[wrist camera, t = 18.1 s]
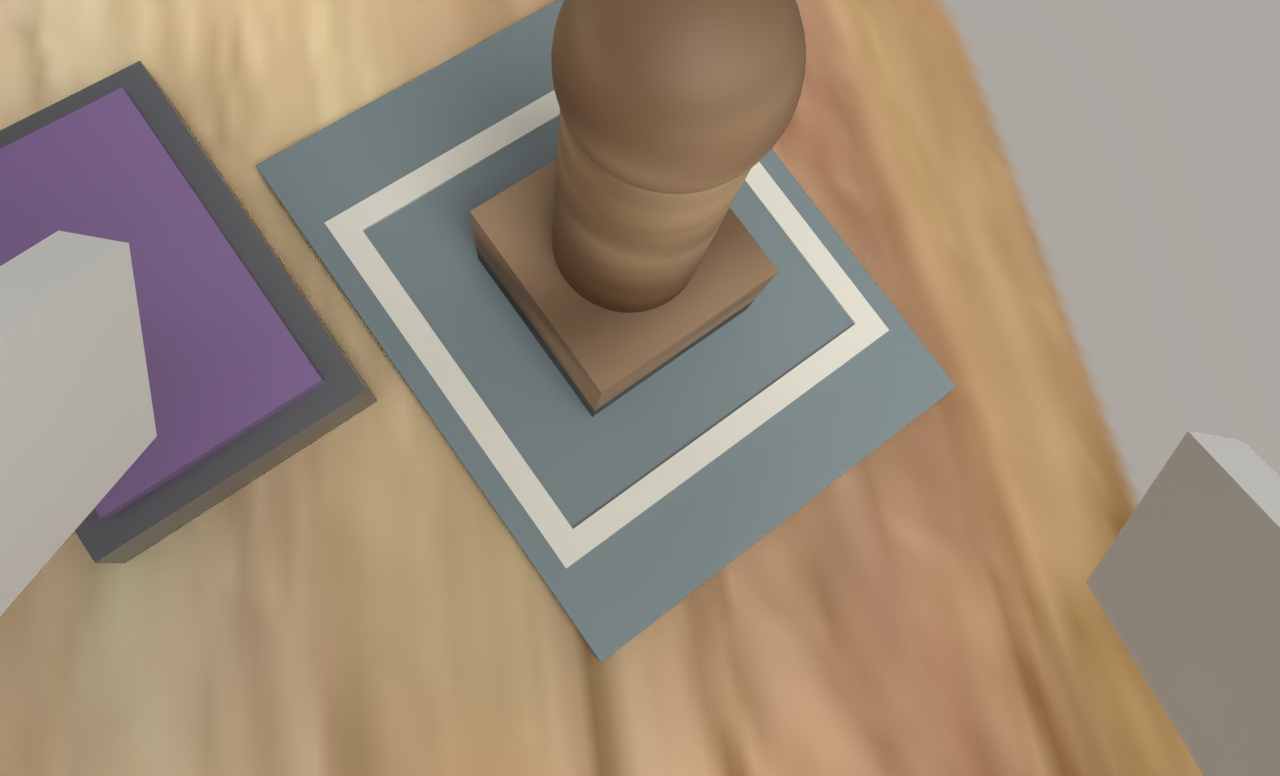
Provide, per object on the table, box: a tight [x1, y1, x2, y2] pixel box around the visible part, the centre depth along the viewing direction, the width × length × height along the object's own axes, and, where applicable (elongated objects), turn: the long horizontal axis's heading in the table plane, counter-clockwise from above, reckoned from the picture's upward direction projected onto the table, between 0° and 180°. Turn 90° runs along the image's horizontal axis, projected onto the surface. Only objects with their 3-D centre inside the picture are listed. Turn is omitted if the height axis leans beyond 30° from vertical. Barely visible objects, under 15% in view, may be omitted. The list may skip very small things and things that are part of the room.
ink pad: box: [0, 61, 377, 563], centre depth 23 cm, size 12×8×2 cm, turn 36°
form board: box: [256, 0, 956, 662], centre depth 26 cm, size 18×14×1 cm
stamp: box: [470, 0, 806, 417], centre depth 19 cm, size 6×6×14 cm
